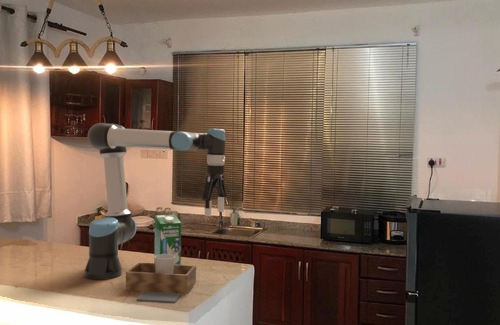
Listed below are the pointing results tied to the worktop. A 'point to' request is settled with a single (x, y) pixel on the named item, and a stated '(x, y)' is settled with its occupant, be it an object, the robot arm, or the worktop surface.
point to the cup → (164, 263)
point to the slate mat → (159, 297)
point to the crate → (160, 279)
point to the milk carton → (168, 236)
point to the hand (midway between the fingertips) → (214, 213)
